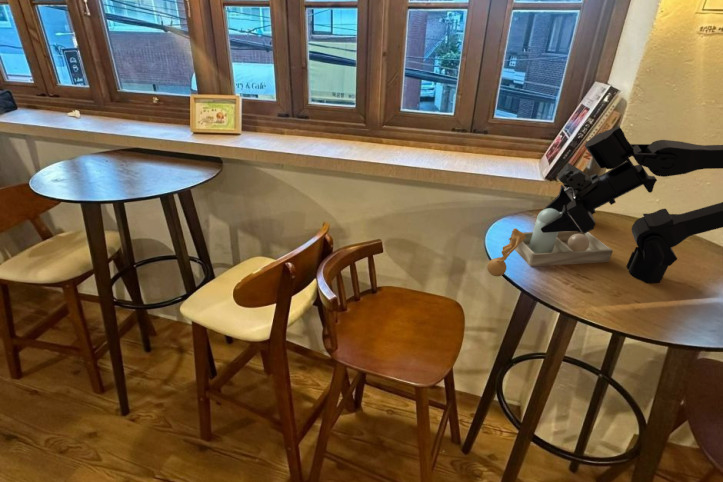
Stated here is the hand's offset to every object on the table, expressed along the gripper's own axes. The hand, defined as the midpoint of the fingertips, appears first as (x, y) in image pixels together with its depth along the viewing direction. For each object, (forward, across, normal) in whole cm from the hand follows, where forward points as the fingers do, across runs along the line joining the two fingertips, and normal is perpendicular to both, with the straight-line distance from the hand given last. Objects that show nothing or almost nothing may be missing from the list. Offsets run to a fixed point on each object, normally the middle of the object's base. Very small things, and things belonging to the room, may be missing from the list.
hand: (541, 222), depth 93 cm
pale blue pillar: (+5, 0, +7) cm, 8 cm away
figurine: (+11, +13, +2) cm, 17 cm away
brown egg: (-1, -5, +13) cm, 14 cm away
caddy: (+2, -2, +10) cm, 11 cm away
